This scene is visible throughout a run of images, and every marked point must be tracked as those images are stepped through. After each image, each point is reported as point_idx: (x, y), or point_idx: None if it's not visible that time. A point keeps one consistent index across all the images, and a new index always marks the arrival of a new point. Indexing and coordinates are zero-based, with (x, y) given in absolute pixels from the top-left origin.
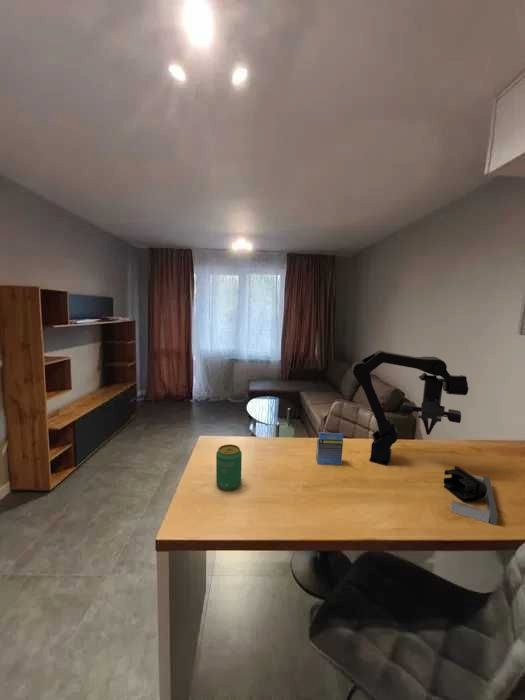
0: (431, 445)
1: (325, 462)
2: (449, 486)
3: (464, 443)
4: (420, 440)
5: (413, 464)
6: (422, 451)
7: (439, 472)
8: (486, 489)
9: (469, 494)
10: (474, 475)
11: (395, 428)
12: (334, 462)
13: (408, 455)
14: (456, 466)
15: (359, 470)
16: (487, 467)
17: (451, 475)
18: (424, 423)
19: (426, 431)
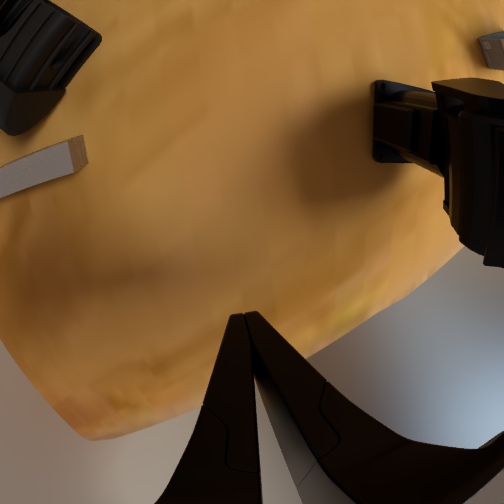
0: None
1: (502, 32)
2: (71, 15)
3: (155, 414)
4: None
5: (267, 166)
6: None
7: (138, 165)
8: None
9: (4, 2)
10: (2, 195)
11: (500, 226)
12: (492, 35)
13: (299, 245)
14: (8, 95)
15: (437, 12)
16: (44, 328)
17: (74, 138)
18: (352, 414)
19: (272, 333)
